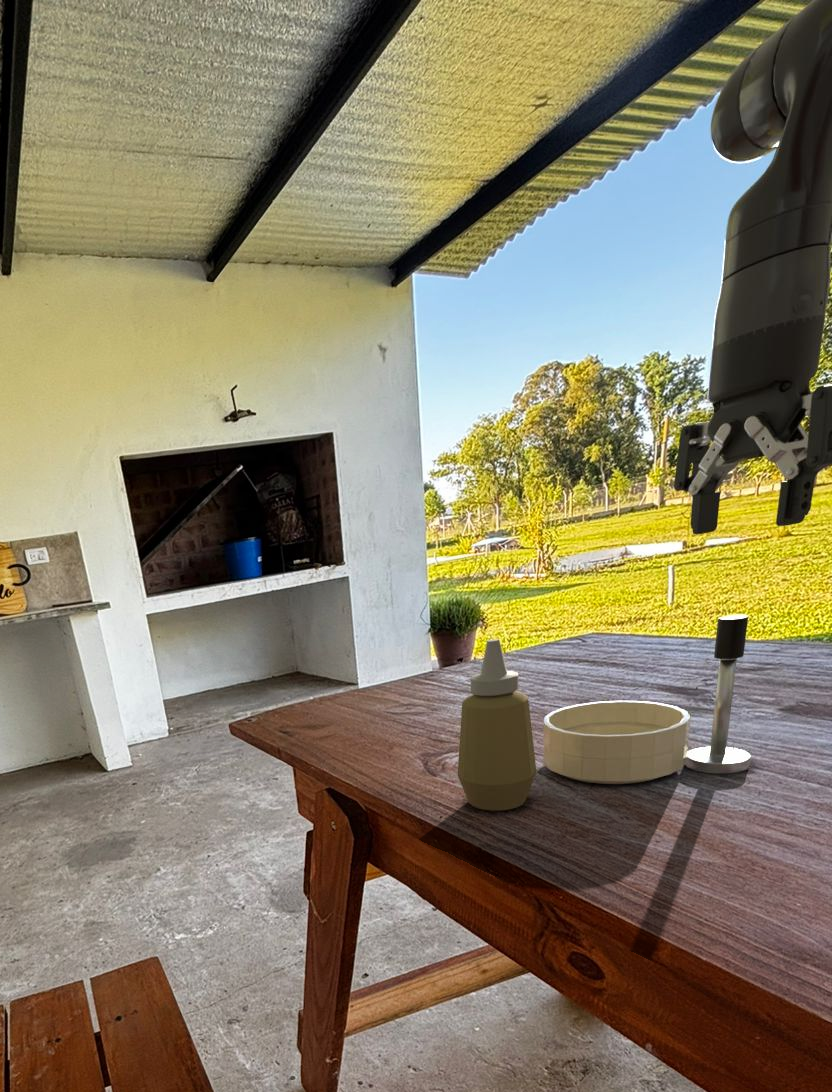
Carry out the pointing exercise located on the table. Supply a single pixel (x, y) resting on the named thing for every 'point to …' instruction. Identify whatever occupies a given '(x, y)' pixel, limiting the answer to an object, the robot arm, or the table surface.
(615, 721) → the bowl
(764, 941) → the table surface
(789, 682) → the table surface
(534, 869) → the table surface
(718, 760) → the rod on round base
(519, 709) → the squeeze bottle
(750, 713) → the table surface
